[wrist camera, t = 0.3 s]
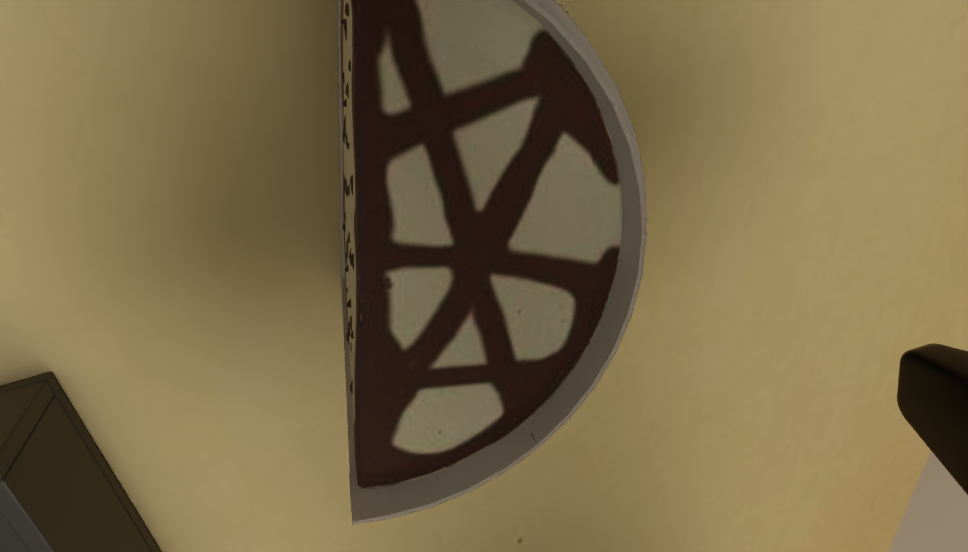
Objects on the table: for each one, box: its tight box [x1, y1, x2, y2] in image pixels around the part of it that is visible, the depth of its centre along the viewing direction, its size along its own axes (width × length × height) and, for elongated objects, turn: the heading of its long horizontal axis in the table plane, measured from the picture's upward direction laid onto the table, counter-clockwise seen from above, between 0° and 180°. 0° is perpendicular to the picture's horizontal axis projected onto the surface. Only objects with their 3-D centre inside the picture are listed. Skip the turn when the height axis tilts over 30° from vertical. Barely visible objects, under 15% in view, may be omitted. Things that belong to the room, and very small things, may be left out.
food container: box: [337, 0, 647, 525], centre depth 17 cm, size 12×6×10 cm, turn 176°
